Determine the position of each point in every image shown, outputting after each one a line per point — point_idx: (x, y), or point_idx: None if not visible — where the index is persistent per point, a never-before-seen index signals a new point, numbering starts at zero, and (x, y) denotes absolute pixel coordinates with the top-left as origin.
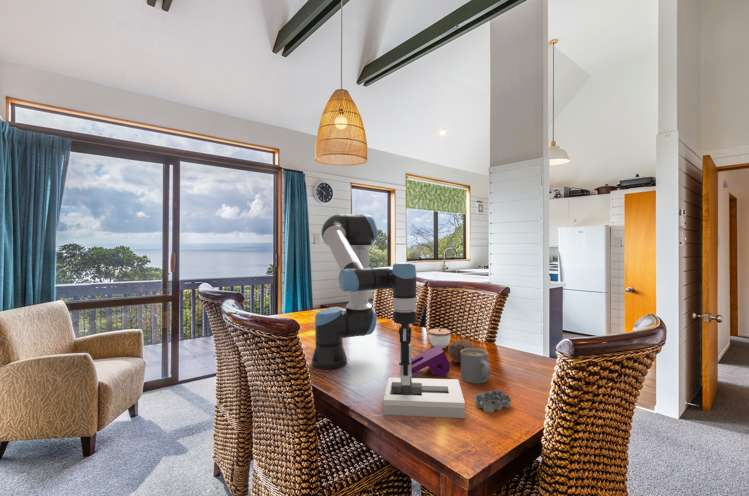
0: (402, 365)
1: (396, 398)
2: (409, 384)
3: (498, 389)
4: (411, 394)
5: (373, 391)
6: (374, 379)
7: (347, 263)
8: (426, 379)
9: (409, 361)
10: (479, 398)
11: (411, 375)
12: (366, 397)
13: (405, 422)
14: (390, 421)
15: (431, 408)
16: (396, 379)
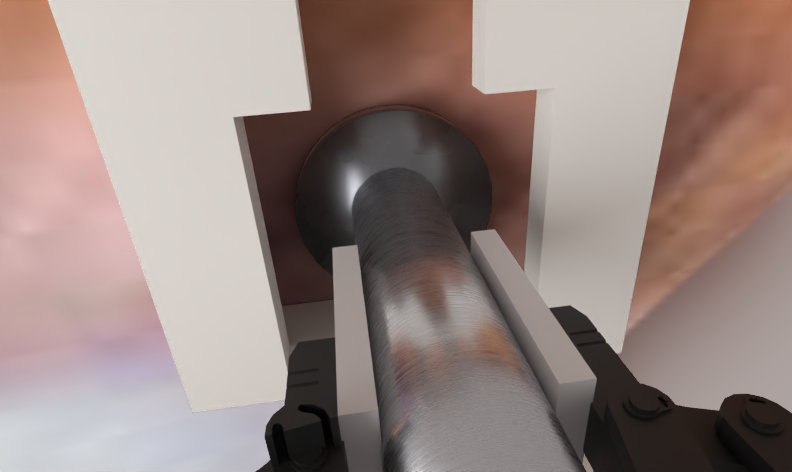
0: (577, 449)
1: (602, 282)
2: (497, 238)
3: None
4: (416, 181)
5: (264, 414)
6: (56, 457)
7: None
8: (104, 66)
9: (550, 418)
10: None
11: (443, 263)
12: None
13: (673, 162)
14: (652, 246)
15: None
16: (217, 351)
